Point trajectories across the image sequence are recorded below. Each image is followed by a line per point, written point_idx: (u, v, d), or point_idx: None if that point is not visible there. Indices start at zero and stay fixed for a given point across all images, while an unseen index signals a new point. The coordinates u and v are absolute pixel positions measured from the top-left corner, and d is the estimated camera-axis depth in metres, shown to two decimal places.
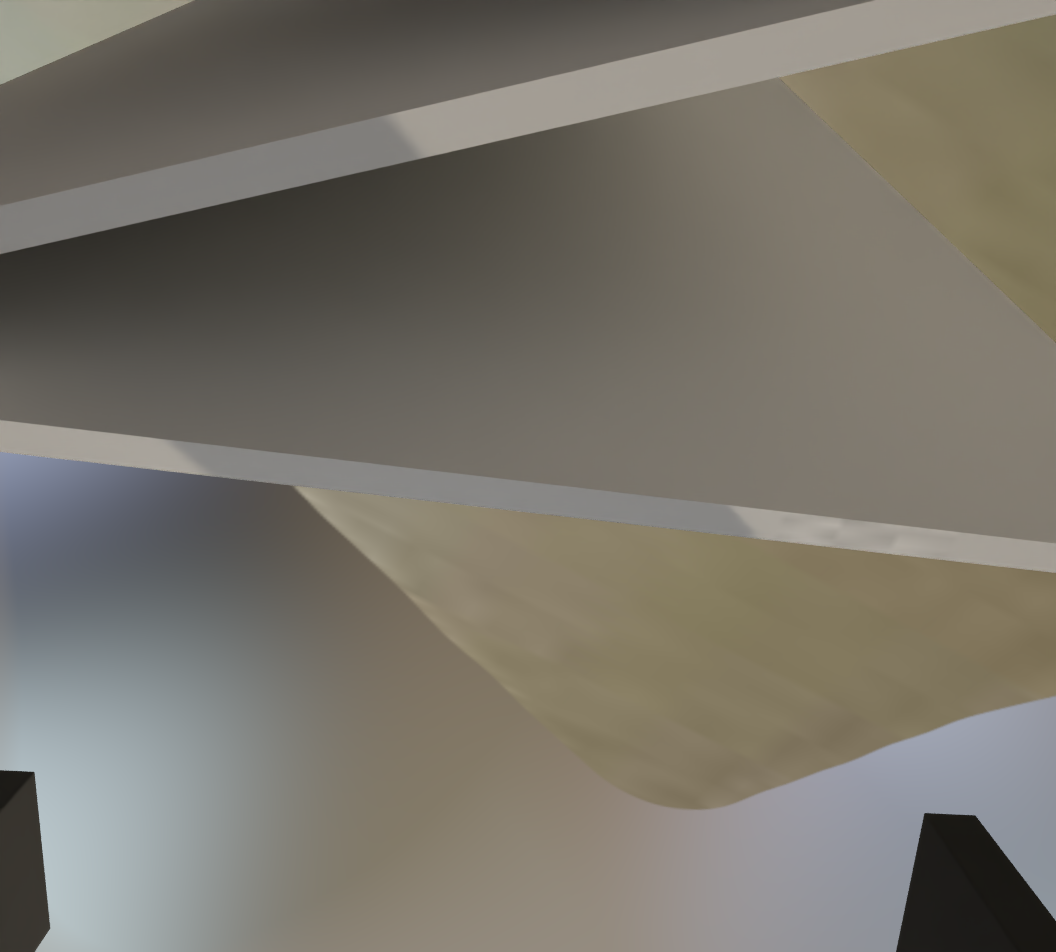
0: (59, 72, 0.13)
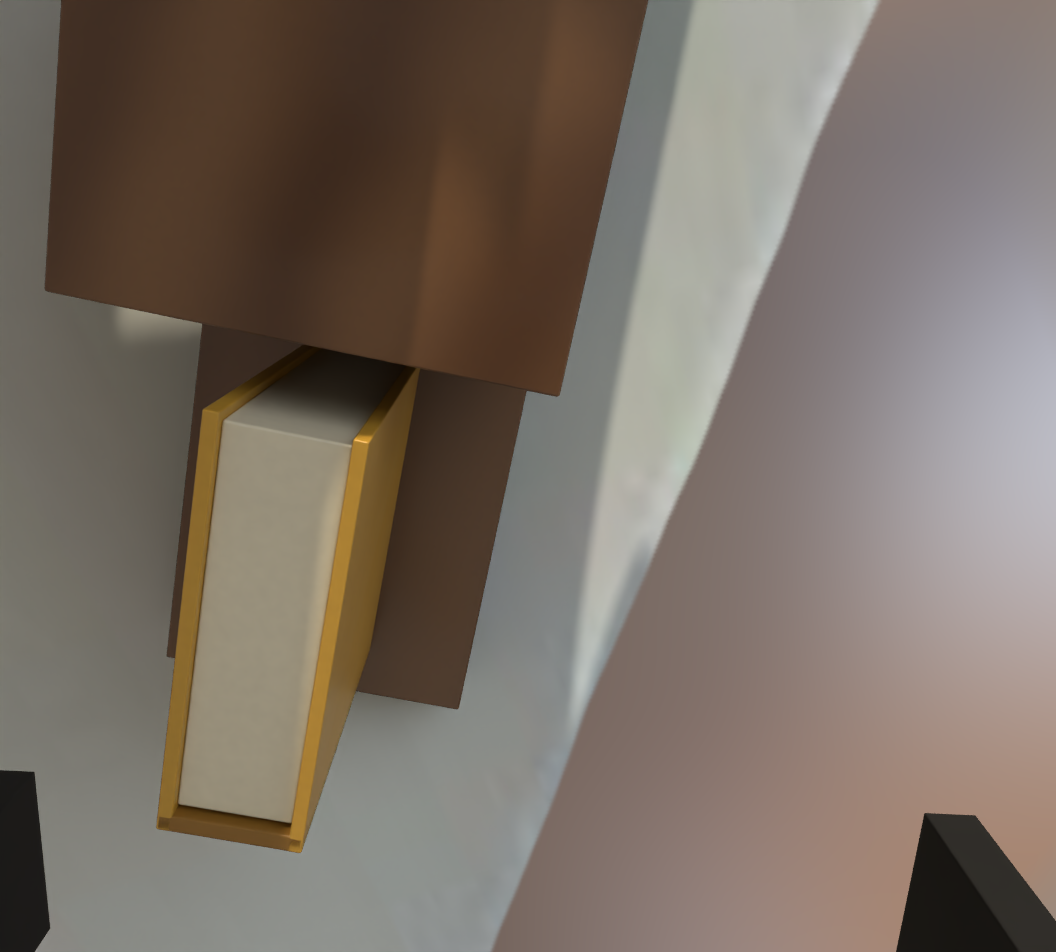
0: None
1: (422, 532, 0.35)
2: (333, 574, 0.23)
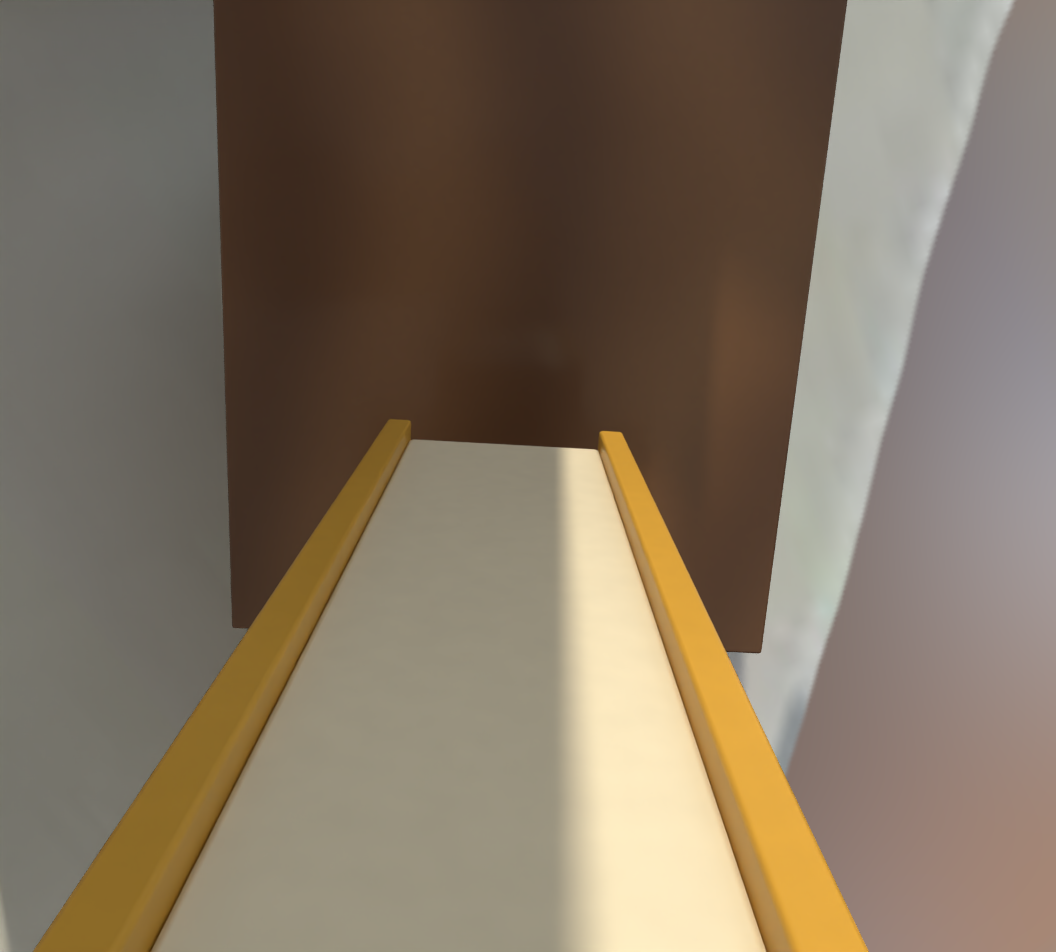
0: None
1: None
2: None
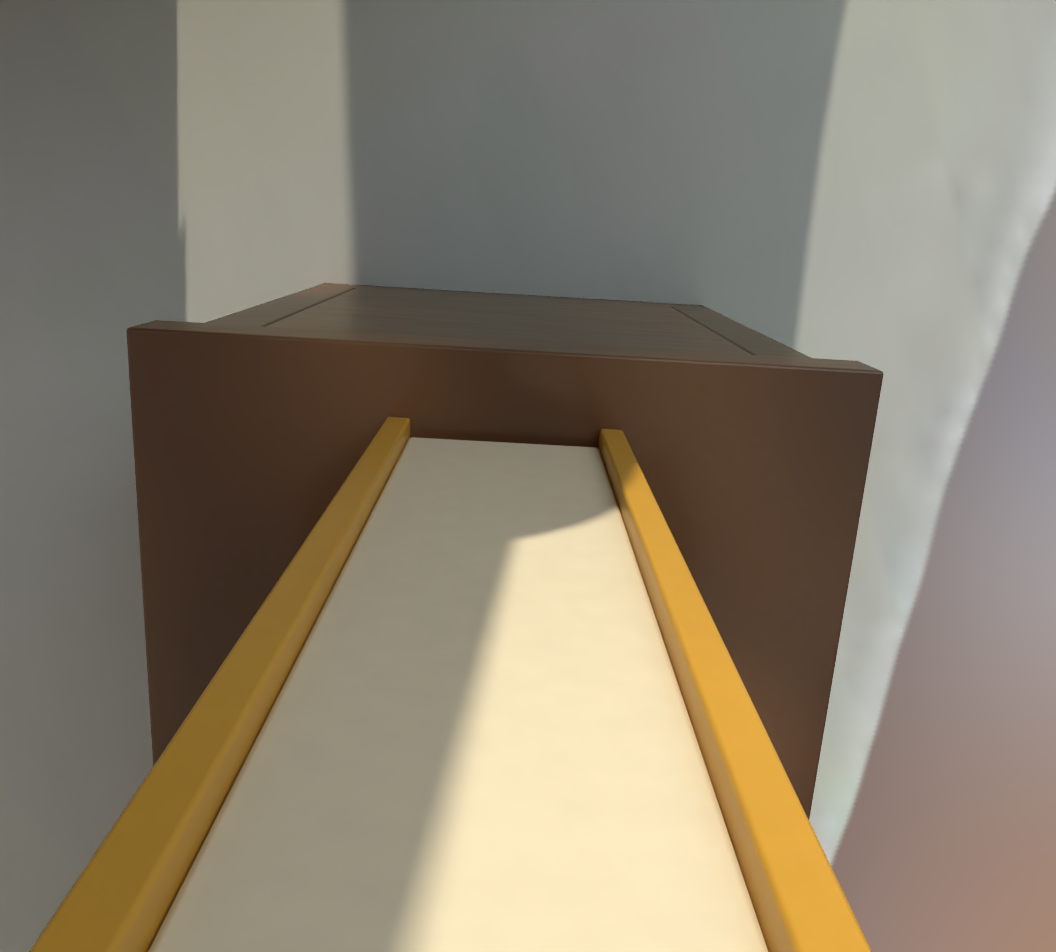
0: None
1: None
2: None
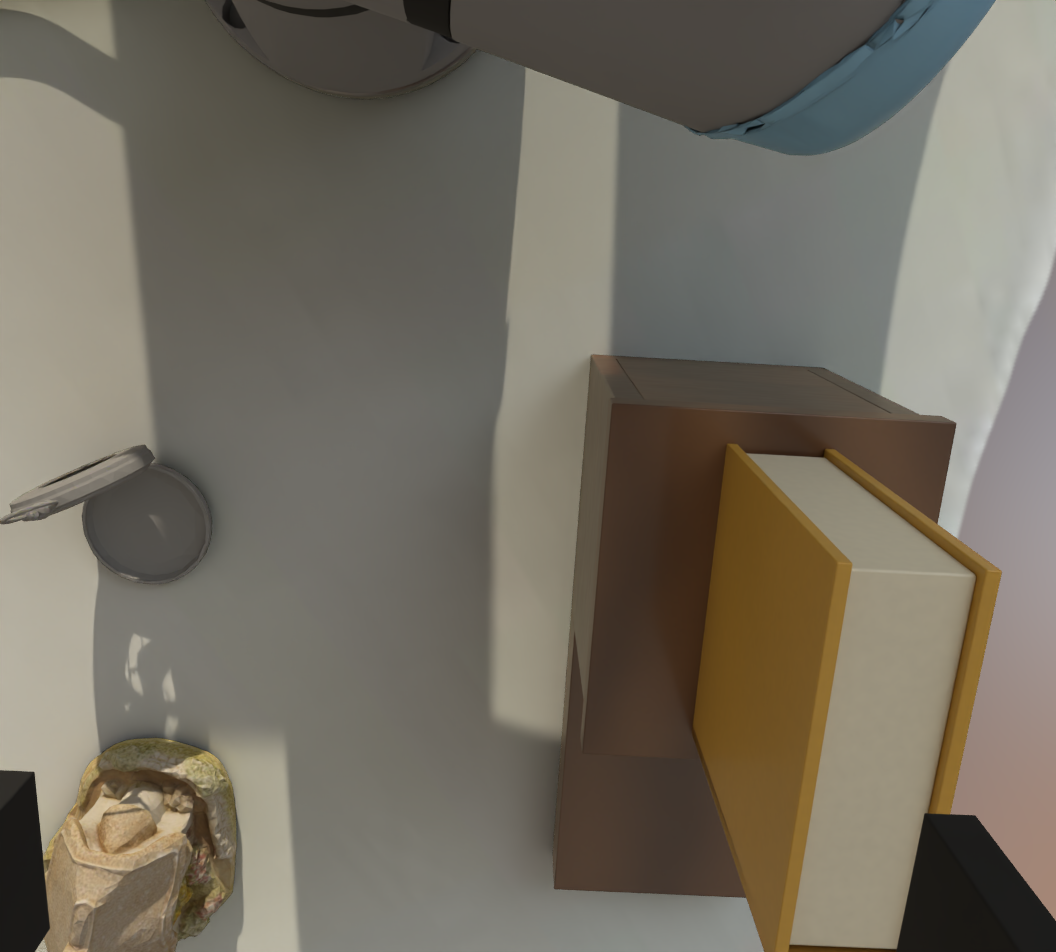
0: None
1: None
2: (960, 703, 0.23)
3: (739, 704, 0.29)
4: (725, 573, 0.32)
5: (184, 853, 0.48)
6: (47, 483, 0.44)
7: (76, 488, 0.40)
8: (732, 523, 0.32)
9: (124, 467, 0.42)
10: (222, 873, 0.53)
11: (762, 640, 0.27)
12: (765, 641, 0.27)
